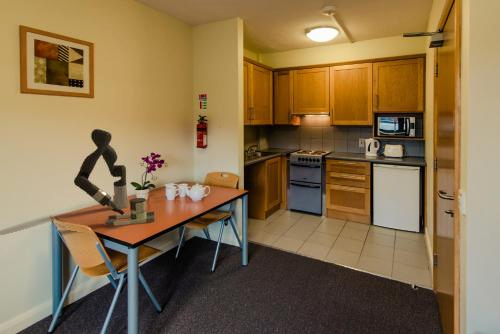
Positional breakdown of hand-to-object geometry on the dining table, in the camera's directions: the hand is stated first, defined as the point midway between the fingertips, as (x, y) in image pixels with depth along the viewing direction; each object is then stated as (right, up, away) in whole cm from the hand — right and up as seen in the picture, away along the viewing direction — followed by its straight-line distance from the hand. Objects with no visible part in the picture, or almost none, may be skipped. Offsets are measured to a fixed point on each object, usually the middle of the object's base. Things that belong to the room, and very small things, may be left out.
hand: (123, 213), depth 200 cm
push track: (+4, -5, +2) cm, 7 cm away
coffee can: (+9, -5, +4) cm, 11 cm away
